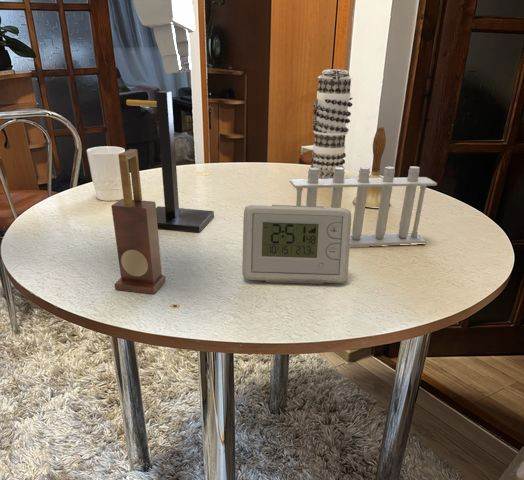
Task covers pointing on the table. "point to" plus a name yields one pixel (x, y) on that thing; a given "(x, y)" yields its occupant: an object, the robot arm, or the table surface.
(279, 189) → the table surface
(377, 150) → the hand bell
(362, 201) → the test tube rack
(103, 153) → the white cup
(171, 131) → the stand
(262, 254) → the digital clock
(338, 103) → the white patterned cylinder
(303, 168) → the table surface
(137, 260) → the clock
